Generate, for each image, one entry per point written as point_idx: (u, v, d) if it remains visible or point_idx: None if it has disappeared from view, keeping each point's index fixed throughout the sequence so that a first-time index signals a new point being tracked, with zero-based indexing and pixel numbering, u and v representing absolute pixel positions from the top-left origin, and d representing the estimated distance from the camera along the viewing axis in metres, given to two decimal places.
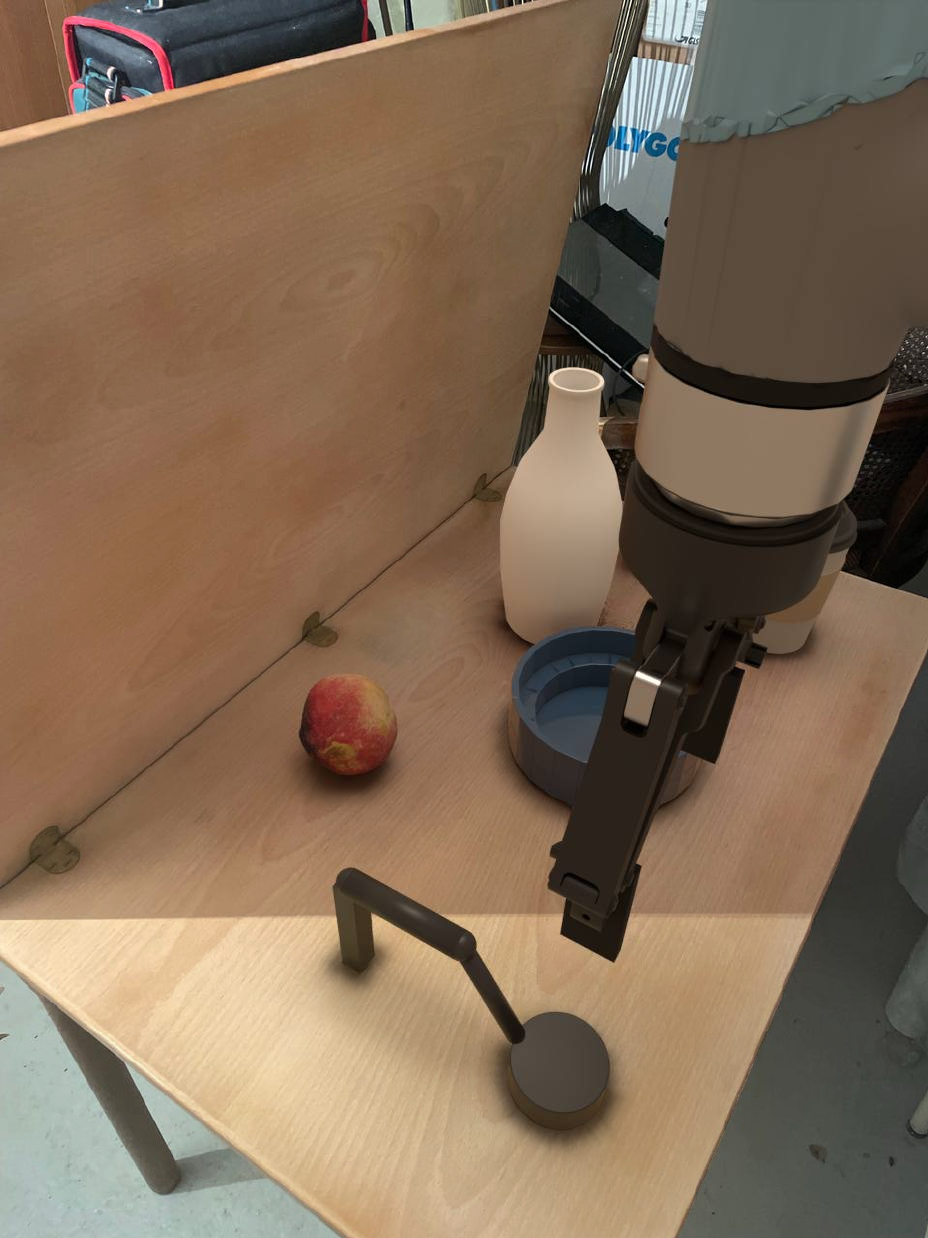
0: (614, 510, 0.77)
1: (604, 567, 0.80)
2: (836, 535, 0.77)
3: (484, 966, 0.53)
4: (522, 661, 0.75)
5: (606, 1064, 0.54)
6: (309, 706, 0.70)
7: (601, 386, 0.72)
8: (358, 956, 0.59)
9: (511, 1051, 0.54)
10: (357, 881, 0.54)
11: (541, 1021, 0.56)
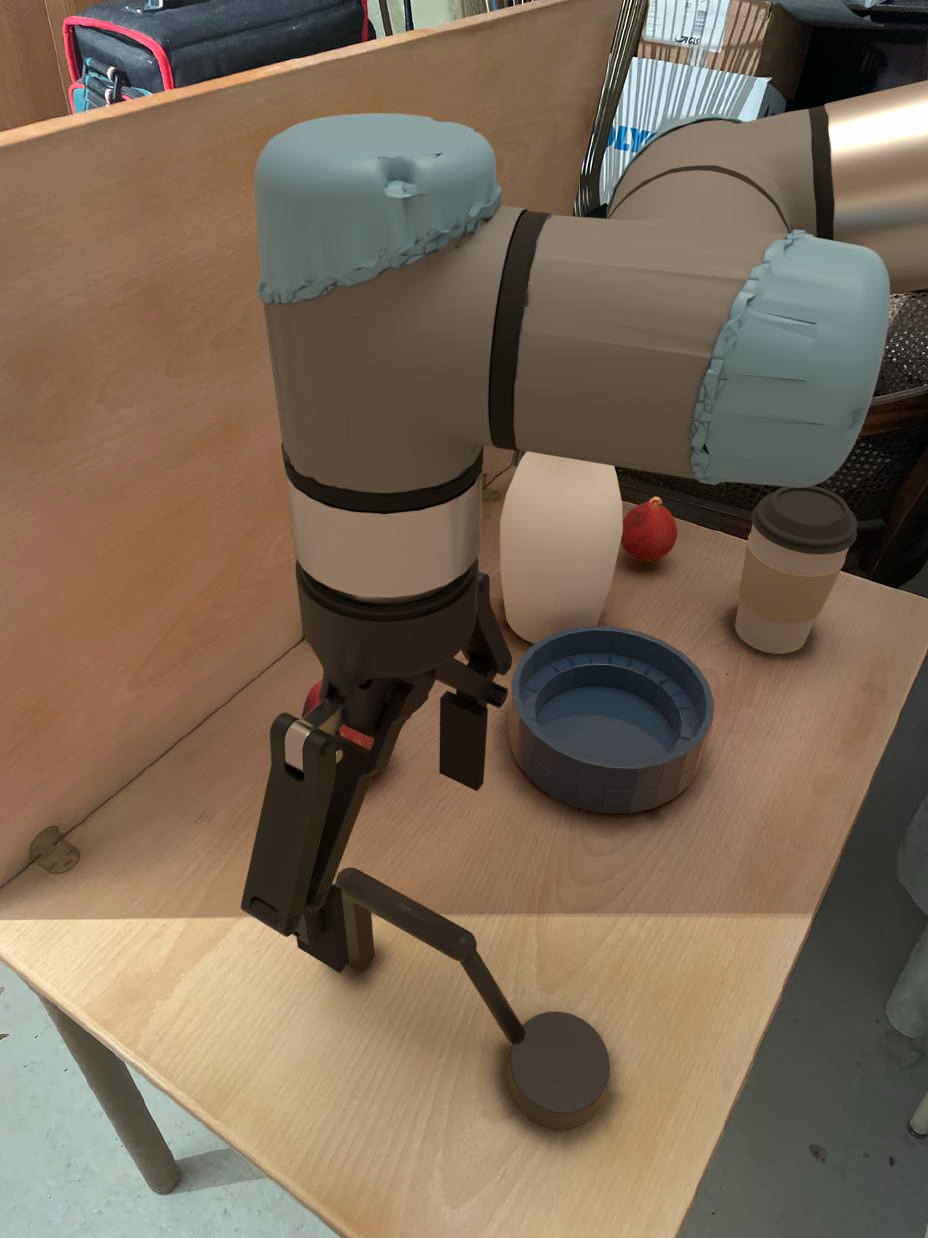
0: (614, 510, 0.77)
1: (604, 567, 0.80)
2: (836, 535, 0.77)
3: (484, 966, 0.53)
4: (522, 661, 0.75)
5: (606, 1064, 0.54)
6: (309, 706, 0.70)
7: None
8: (358, 956, 0.59)
9: (511, 1051, 0.54)
10: (357, 881, 0.54)
11: (541, 1021, 0.56)
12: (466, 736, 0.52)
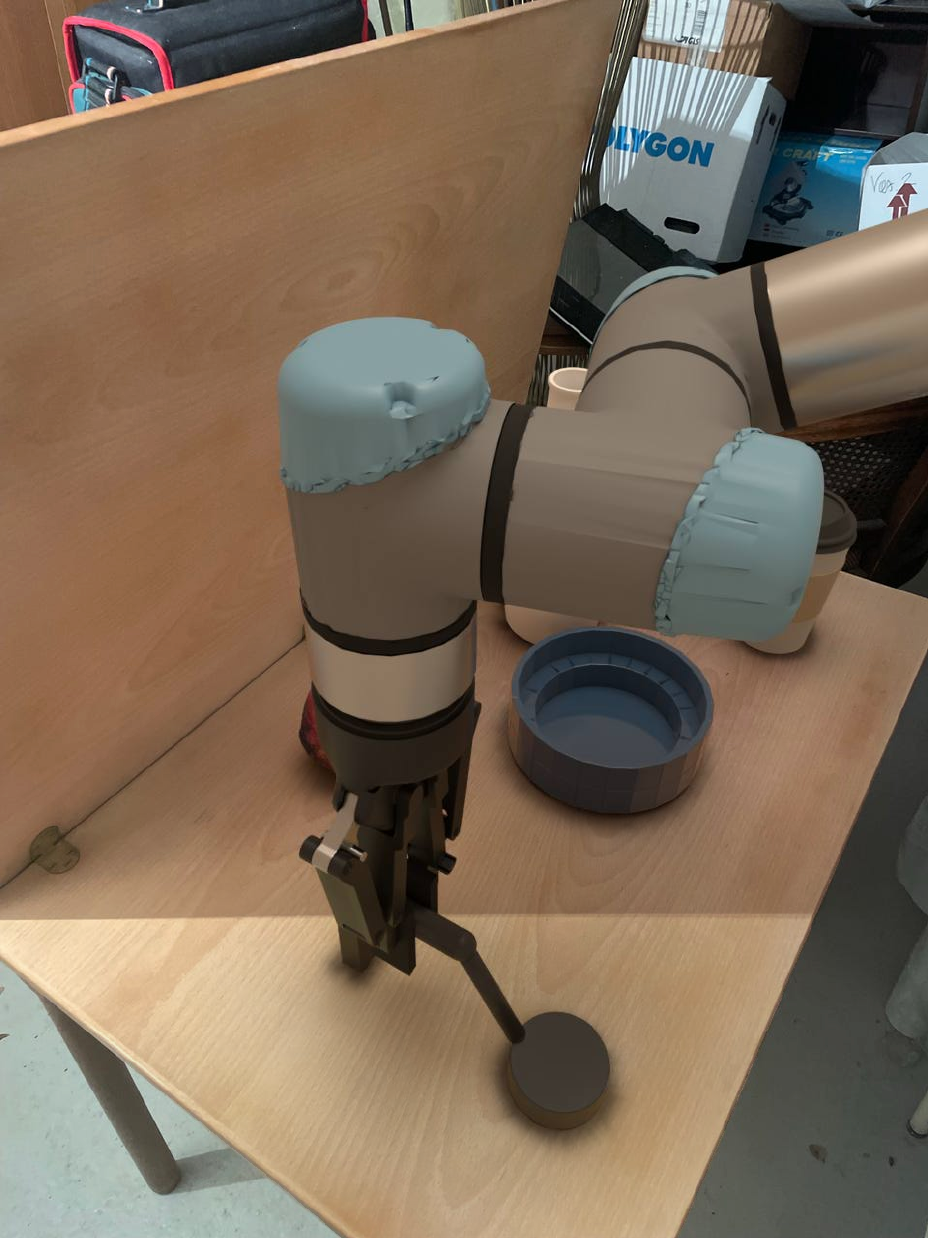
0: None
1: None
2: (836, 535, 0.77)
3: (484, 966, 0.53)
4: (522, 661, 0.75)
5: (606, 1064, 0.54)
6: (309, 706, 0.70)
7: None
8: (358, 956, 0.59)
9: (511, 1051, 0.54)
10: None
11: (541, 1021, 0.56)
12: (418, 898, 0.54)
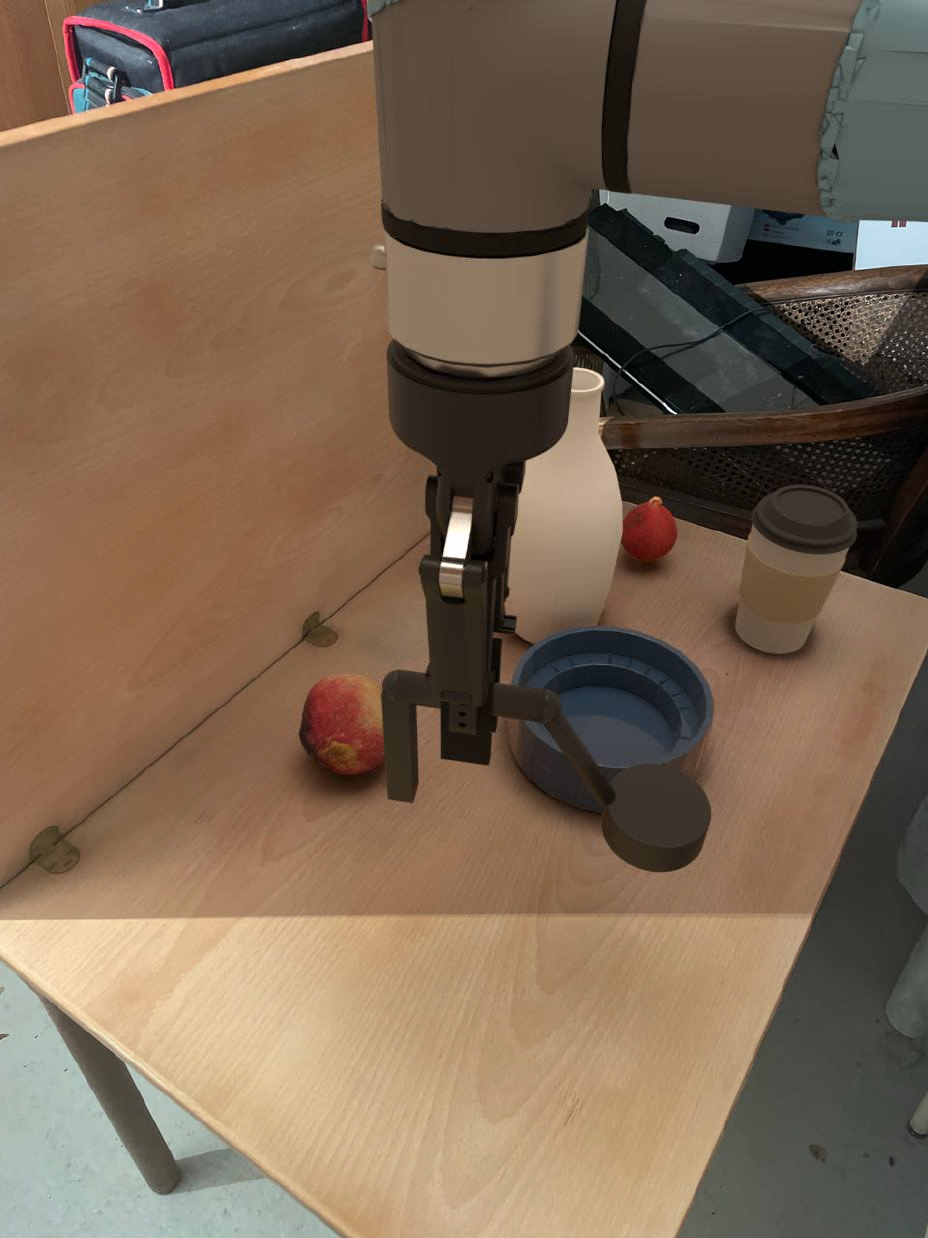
0: (614, 510, 0.77)
1: (604, 567, 0.80)
2: (836, 535, 0.77)
3: (569, 724, 0.49)
4: (522, 661, 0.75)
5: (702, 793, 0.52)
6: (309, 706, 0.70)
7: (601, 386, 0.72)
8: (410, 780, 0.53)
9: (609, 811, 0.51)
10: (410, 678, 0.48)
11: (623, 778, 0.53)
12: None
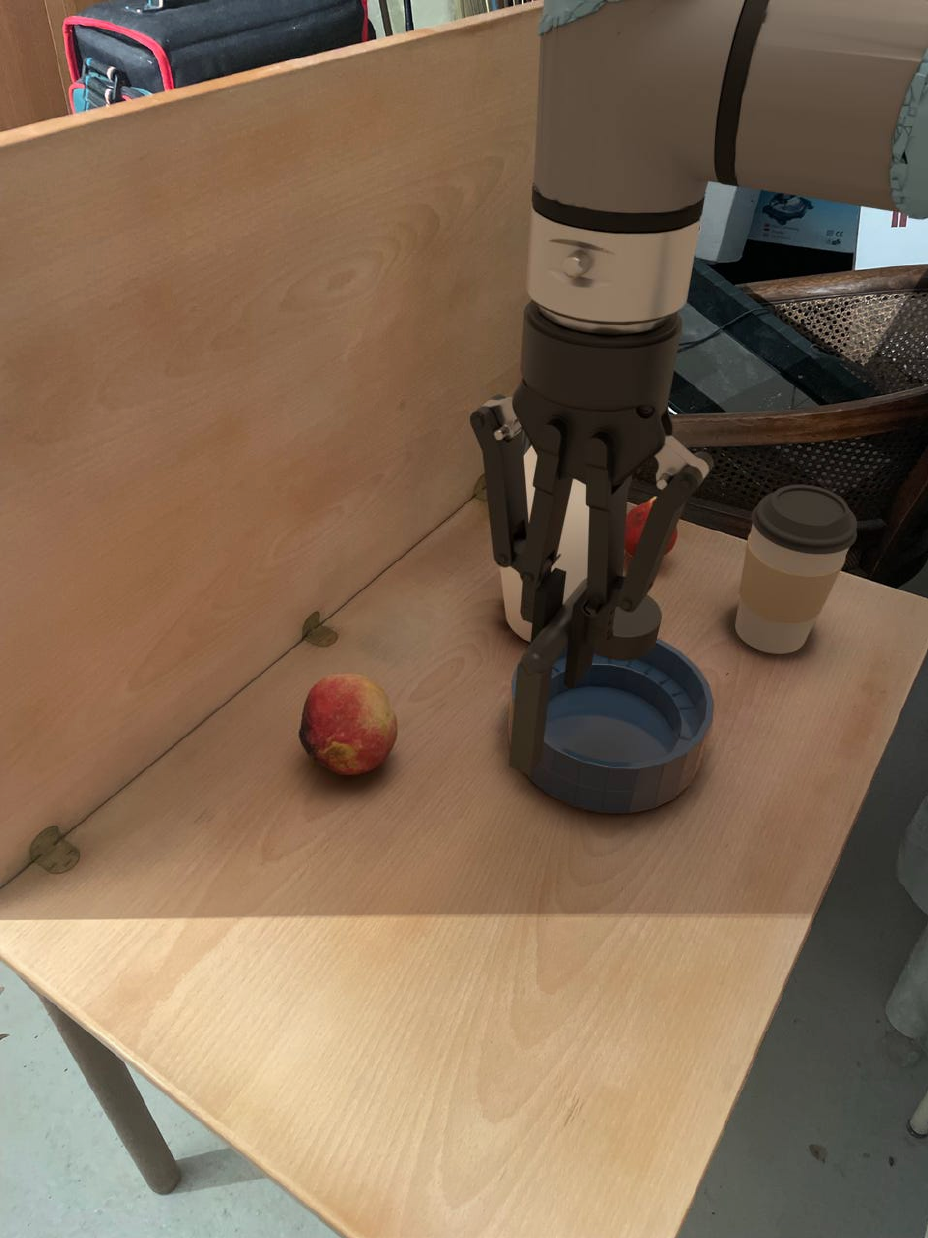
0: None
1: None
2: (836, 535, 0.77)
3: None
4: None
5: None
6: (309, 706, 0.70)
7: None
8: (543, 738, 0.57)
9: (620, 635, 0.65)
10: (544, 645, 0.53)
11: None
12: (556, 606, 0.55)
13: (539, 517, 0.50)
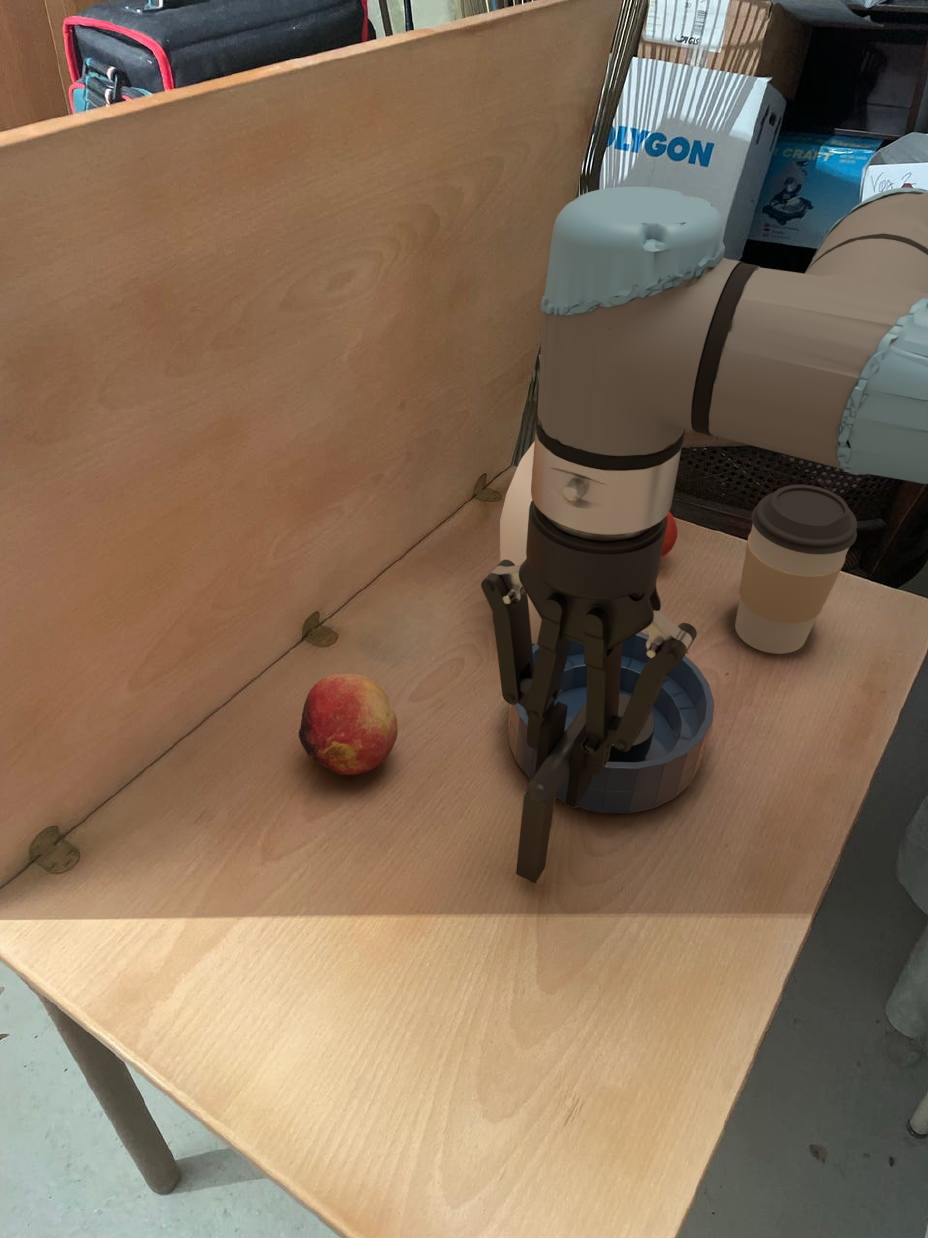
0: None
1: None
2: (836, 535, 0.77)
3: None
4: None
5: None
6: (309, 706, 0.70)
7: None
8: None
9: None
10: (548, 776, 0.59)
11: None
12: (559, 735, 0.62)
13: (543, 668, 0.56)
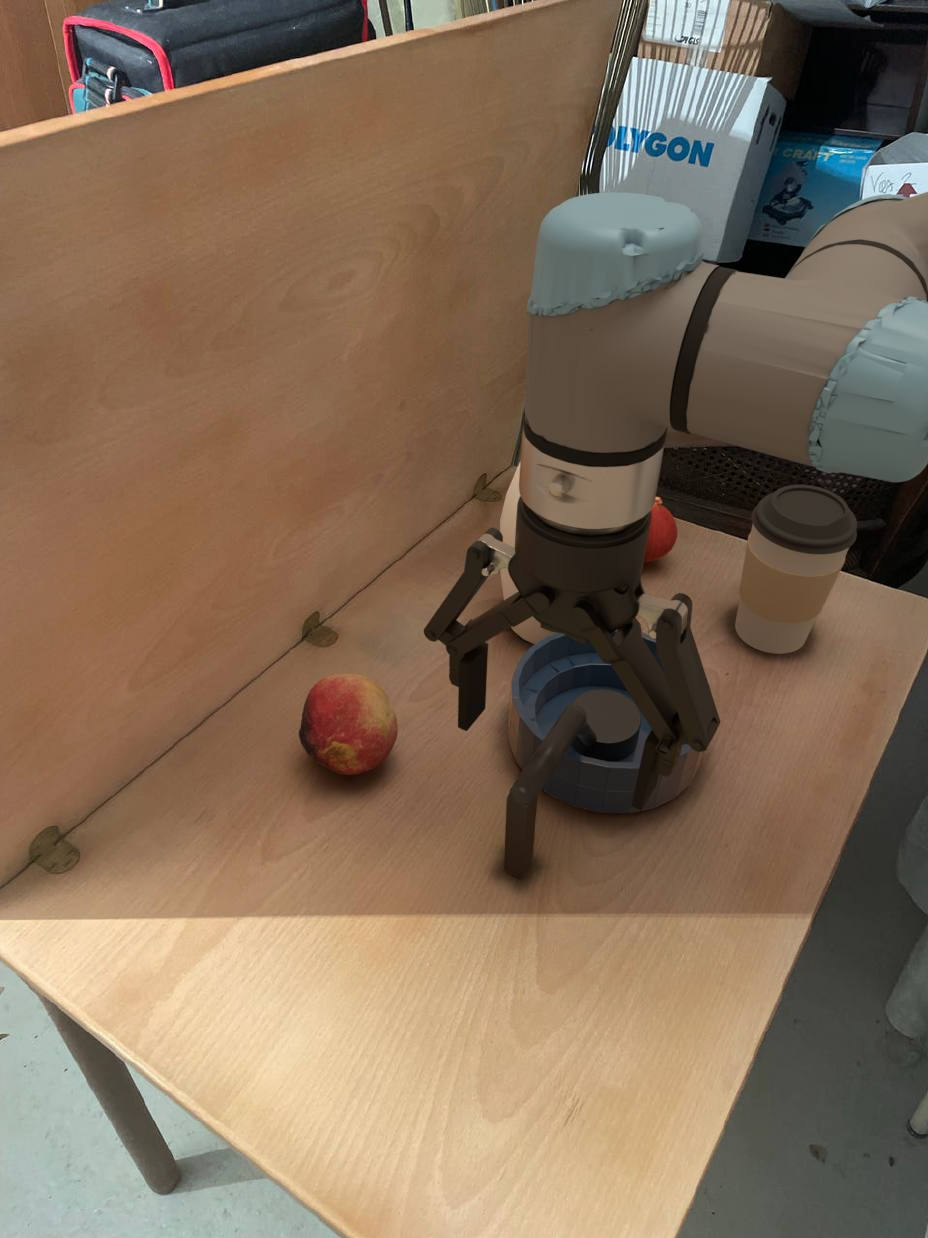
0: None
1: None
2: (836, 535, 0.77)
3: None
4: (522, 661, 0.75)
5: (604, 690, 0.77)
6: (309, 706, 0.70)
7: None
8: (533, 848, 0.66)
9: (603, 742, 0.73)
10: (529, 779, 0.61)
11: None
12: (480, 673, 0.64)
13: (490, 627, 0.58)
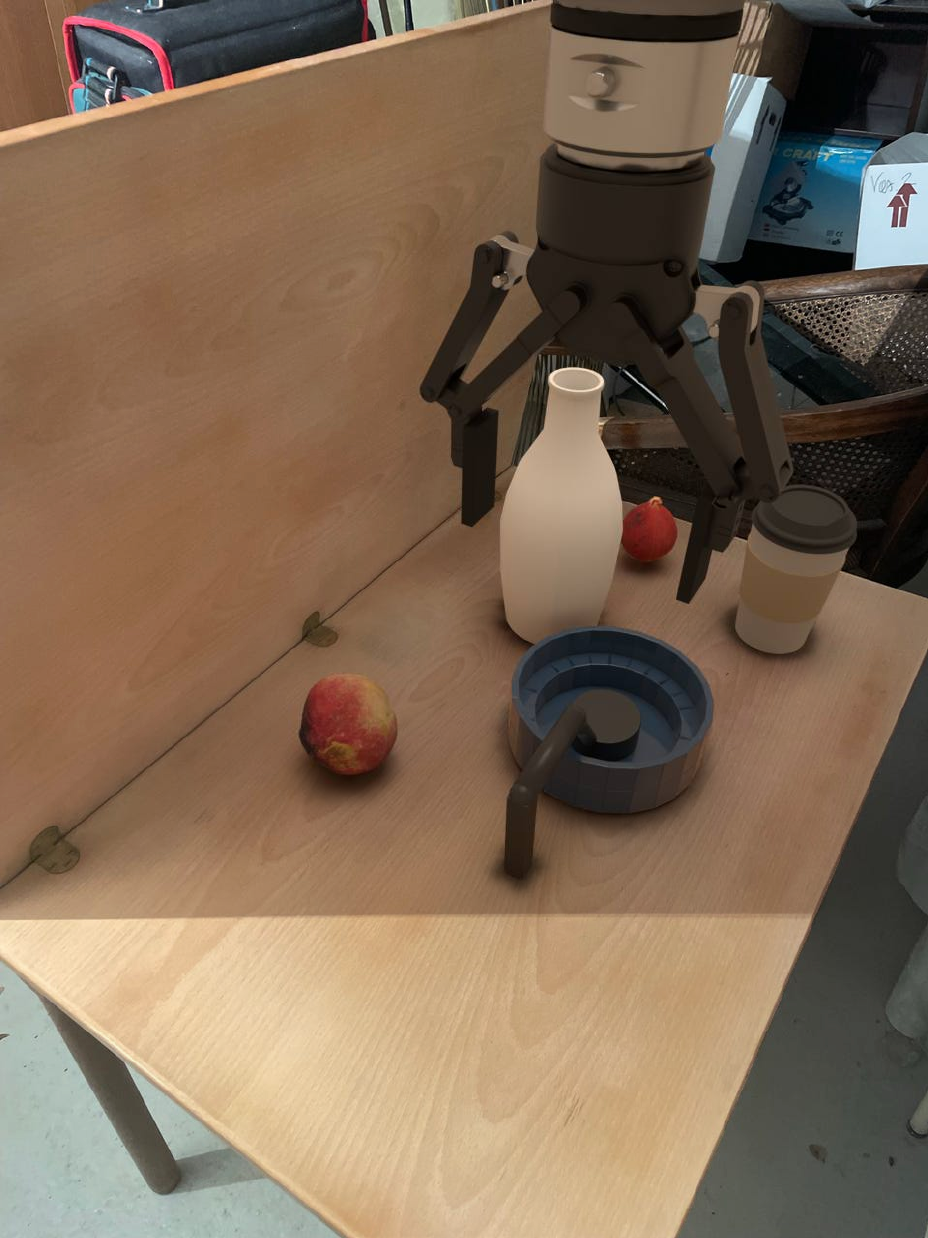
0: (614, 510, 0.77)
1: (604, 567, 0.80)
2: (836, 535, 0.77)
3: None
4: (522, 661, 0.75)
5: (604, 690, 0.77)
6: (309, 706, 0.70)
7: (601, 386, 0.72)
8: (533, 848, 0.66)
9: (603, 742, 0.73)
10: (529, 779, 0.61)
11: None
12: (489, 449, 0.52)
13: (502, 366, 0.47)
